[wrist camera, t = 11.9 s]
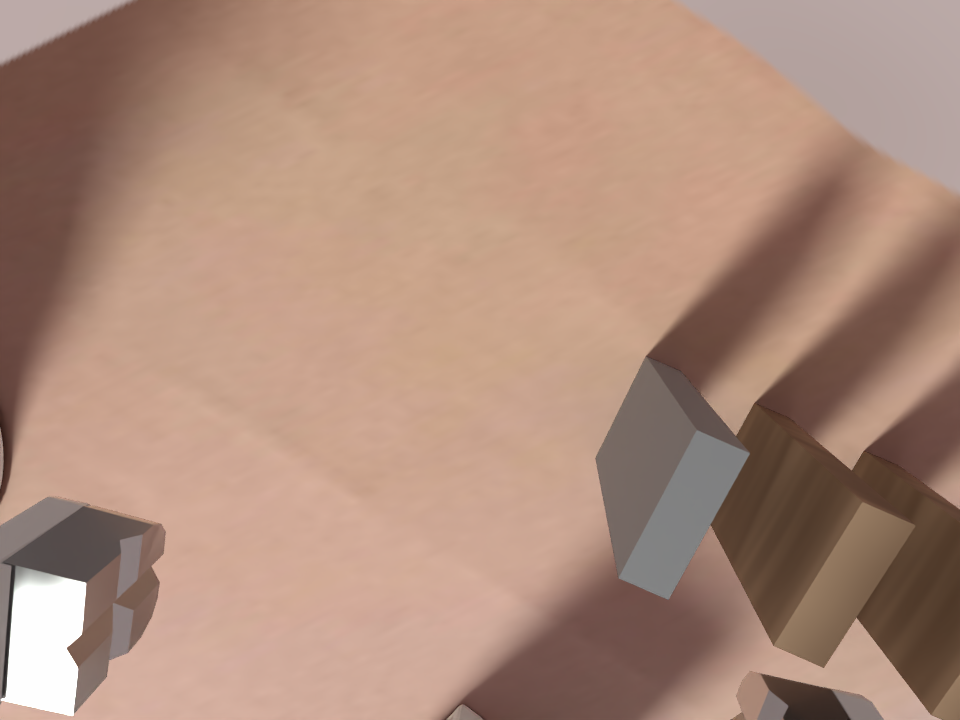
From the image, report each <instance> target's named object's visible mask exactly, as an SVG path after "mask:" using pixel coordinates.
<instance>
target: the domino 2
mask: <svg viewBox="0 0 960 720" xmlns="http://www.w3.org/2000/svg"><path fill="white" fill-rule="evenodd" d="M852 472H854V473H855V474H856V475H857V476H858V477H860V478H861V479H862V480H863V481H864V482H865V483H867V484H868V485H869V486H870V487H871V488H872V489H874V490H875V491H876V492H877V493H878V494H880V495H881V496H882V497H883V498H884V499H885V500H887V501H888V502H889V503H890V504H891V505H893V506H894V507H895V508H896V509H897V510H898V511H900V512H901V513H902V514H903V515H904V516H905V517H907V518H908V519H909V520H910V521H911V522H913V523H914V524H915V525H916V526H915V528H914V529H913V531H912V532H911V534H910V535H909V537H908V538H907V540H906V542H905V543H904V545H903V546H902V548H901V549H900V551H899V552H898V554H897V555H896V557H895V559H894V560H893V562H892V563H891V565H890V566H889V568H888V569H887V571H886V572H885V574H884V576H883V577H882V579H881V580H880V582H879V583H878V585H877V586H876V588H875V589H874V591H873V593H872V594H871V596H870V597H869V599H868V600H867V602H866V603H865V605H864V606H863V608H862V610H861V611H860V613H859V614H858V616H857V619H858V620H859V621H860V622H861V624H862V625H863V626H864V628H865V629H866V630H867V632H868V633H869V634H870V636H871V637H872V638H873V640H874V641H875V642H876V643H877V645H878V646H879V647H880V649H881V650H882V651H883V653H884V654H885V655H886V657H887V658H888V659H889V660H890V662H891V663H892V664H893V666H894V667H895V668H896V670H897V671H898V672H899V674H900V675H901V676H902V678H903V679H904V680H905V681H906V683H907V684H908V685H909V687H910V688H911V689H912V691H913V692H914V693H915V695H916V696H917V697H918V699H919V700H920V701H921V702H922V704H923V705H924V706H925V708H926V709H927V710H928V712H929V713H930V714H931V715H932V716H935V717H937V718H939V719H942V720H960V509H958V508H957V507H956V506H954V505H953V504H951V503H950V502H949V501H947V500H946V499H944V498H943V497H942V496H940V495H939V494H937V493H936V492H935V491H933V490H932V489H930V488H929V487H928V486H926V485H925V484H924V483H922V482H921V481H919V480H918V479H917V478H915V477H914V476H912V475H911V474H910V473H908V472H907V471H905V470H904V469H903V468H901V467H900V466H898V465H896V464H893V463H891V462H889V461H887V460H884V459H882V458H880V457H877V456H875V455H873V454H870V453H868V452H866V451H864V452H863V453H862V455H861V457H860V458H859V460H858V462H857V463H856V465H855V467H854V468H853V470H852Z"/></svg>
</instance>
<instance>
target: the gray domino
mask: <svg viewBox="0 0 960 720" xmlns="http://www.w3.org/2000/svg"><path fill="white" fill-rule="evenodd" d="M749 454H750V453H749V451H748V450H747V449H746V448H745V447H744V445H743V444H742V443H741V442H740V441H739V440H738V438H737V437H736V436H735V435H734V434H733V432H732V431H731V430H730V429H729V428H728V426H727V425H726V424H725V423H724V422H723V421H722V419H721V418H720V417H719V416H718V415H717V413H716V412H715V411H714V410H713V409H712V408H711V406H710V405H709V404H708V403H707V402H706V400H705V399H704V398H703V397H702V396H701V394H700V393H699V392H698V391H697V390H696V389H695V387H694V386H693V385H692V384H691V383H690V381H689V380H688V379H687V378H686V377H685V376H684V374H683V373H682V372H681V371H679V370H677V369H674V368H672V367H670V366H668V365H665V364H663V363H661V362H658V361H656V360H654V359H651V358H649V357H647V356H646V357H645V359H644V361H643V363H642V365H641V367H640V369H639V371H638V373H637V375H636V377H635V379H634V381H633V383H632V385H631V387H630V389H629V391H628V393H627V395H626V398H625V400H624V402H623V404H622V406H621V408H620V410H619V412H618V414H617V416H616V418H615V420H614V422H613V424H612V426H611V428H610V430H609V432H608V434H607V436H606V438H605V440H604V442H603V444H602V446H601V448H600V450H599V452H598V454H597V456H596V464H597V469H598V474H599V479H600V485H601V490H602V495H603V500H604V506H605V511H606V516H607V521H608V527H609V532H610V537H611V542H612V547H613V553H614V558H615V563H616V568H617V574H618V578H619V579H621V580H624V581H626V582H628V583H631V584H633V585H635V586H637V587H640V588H642V589H644V590H647V591H649V592H651V593H654V594H656V595H658V596H660V597H663V598H665V599H667V600H669V598H670V596H671V595H672V593H673V591H674V589H675V587H676V586H677V584H678V582H679V580H680V578H681V577H682V575H683V573H684V571H685V569H686V568H687V566H688V564H689V562H690V560H691V559H692V557H693V555H694V553H695V551H696V550H697V548H698V546H699V544H700V542H701V541H702V539H703V537H704V535H705V534H706V532H707V530H708V528H709V526H710V525H711V523H712V521H713V519H714V517H715V516H716V514H717V512H718V510H719V508H720V507H721V505H722V503H723V501H724V499H725V498H726V496H727V494H728V492H729V490H730V489H731V487H732V485H733V483H734V481H735V480H736V478H737V476H738V474H739V472H740V471H741V469H742V467H743V465H744V463H745V462H746V460H747V458H748V456H749Z"/></svg>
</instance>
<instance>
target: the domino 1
mask: <svg viewBox="0 0 960 720" xmlns="http://www.w3.org/2000/svg"><path fill="white" fill-rule="evenodd" d="M736 437H737V438H738V440H739V441H740V442H741V443H742V444H743V445H744V447H745V448H746V449H747V450H748V451H749V453H750V454H749V456H748V458H747V460H746V462H745V463H744V465H743V467H742V469H741V471H740V472H739V474H738V476H737V478H736V480H735V481H734V483H733V485H732V487H731V489H730V490H729V492H728V494H727V496H726V498H725V499H724V501H723V503H722V505H721V507H720V508H719V510H718V512H717V514H716V516H715V517H714V519H713V521H712V523H711V526H712V528H713V530H714V532H715V534H716V536H717V538H718V540H719V542H720V544H721V546H722V548H723V549H724V551H725V553H726V555H727V557H728V559H729V561H730V563H731V565H732V567H733V569H734V571H735V573H736V574H737V576H738V578H739V580H740V582H741V584H742V586H743V588H744V590H745V592H746V594H747V596H748V598H749V599H750V601H751V603H752V605H753V607H754V609H755V611H756V613H757V615H758V617H759V619H760V621H761V623H762V625H763V626H764V628H765V630H766V632H767V634H768V636H769V638H770V640H771V642H772V644H773V646H775V647H777V648H780V649H782V650H784V651H787V652H789V653H791V654H793V655H796V656H798V657H800V658H802V659H805V660H807V661H809V662H812V663H814V664H816V665H818V666H821V667H823V668H824V667H825V665H826V664H827V662H828V661H829V659H830V657H831V656H832V654H833V653H834V651H835V650H836V648H837V647H838V645H839V644H840V642H841V640H842V639H843V637H844V636H845V634H846V633H847V631H848V630H849V628H850V627H851V625H852V623H853V622H854V620H855V619H856V617H857V616H858V614H859V613H860V611H861V610H862V608H863V606H864V605H865V603H866V602H867V600H868V599H869V597H870V596H871V594H872V593H873V591H874V589H875V588H876V586H877V585H878V583H879V582H880V580H881V579H882V577H883V576H884V574H885V572H886V571H887V569H888V568H889V566H890V565H891V563H892V562H893V560H894V559H895V557H896V555H897V554H898V552H899V551H900V549H901V548H902V546H903V545H904V543H905V542H906V540H907V538H908V537H909V535H910V534H911V532H912V531H913V529H914V528H915V526H916V525H915V524H914V523H913V522H911V521H910V520H909V519H908V518H907V517H905V516H904V515H903V514H902V513H901V512H900V511H898V510H897V509H896V508H895V507H894V506H893V505H891V504H890V503H889V502H888V501H887V500H885V499H884V498H883V497H882V496H881V495H880V494H878V493H877V492H876V491H875V490H874V489H872V488H871V487H870V486H869V485H868V484H867V483H865V482H864V481H863V480H862V479H861V478H860V477H858V476H857V475H856V474H855V473H854V472H852V471H851V470H850V469H849V468H848V467H847V466H845V465H844V464H843V463H842V462H841V461H839V460H838V459H837V458H836V457H835V456H834V455H832V454H831V453H830V452H829V451H828V450H827V449H825V448H824V447H823V446H822V445H821V444H819V443H818V442H817V441H816V440H815V439H814V438H812V437H811V436H810V435H809V434H808V433H806V432H805V431H804V430H803V429H802V428H801V427H799V426H798V425H797V424H796V423H795V422H794V421H792V420H791V419H790V418H788V417H786V416H783V415H781V414H779V413H777V412H774V411H772V410H770V409H767V408H765V407H763V406H761V405H758V404H756V403H754V405H753V407H752V409H751V411H750V412H749V414H748V416H747V418H746V420H745V421H744V423H743V425H742V427H741V429H740V430H739V432H738V434H737V436H736Z"/></svg>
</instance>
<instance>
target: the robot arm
mask: <svg viewBox="0 0 960 720" xmlns="http://www.w3.org/2000/svg"><path fill="white" fill-rule="evenodd" d="M3 462H4V461H3V441H2V435H1V429H0V487H1V482H2V475H3ZM165 535H166V531H165V530H164V528H163V526H162V524H160V523H156V522H153V521H149V520H145V519H142V518H138V517H134V516H130V515H127V514H123V513H119V512H116V511H112V510H108V509H105V508H101V507H97V506H91V505H89V504H87V503H83V502H79V501H74V500H70V499H66V498H61V497H47V498H45V499H43V500H42V501H40V502H38V503H37V504H35V505H34V506H32V507H30V508H29V509H27V510H25V511H24V512H22V513H20V514H19V515H17V516H15V517H14V518H12V519H11V520H9V521H7V522H6V523H4V524H2V525H1V526H0V704H1V700H4V701H9V702H13V703H18V704H23V705H27V706H32V707H36V708H41V709H46V710H50V711H55V712H59V713H64V714H69V715H73V714H74V713H75V712H76V711H77V710H78V709H79V707H80V706H81V705H82V704H83V703H84V702H85V701H86V700H87V699H88V697H89V696H90V695H91V694H92V693H93V692H94V691H95V690H96V688H97V687H98V686H99V685H100V684H101V683H102V682H103V681H104V679H105V678H106V677H107V672H108V664H109V660H111V659H114V658H116V657H119V656H121V655H124V654H126V653H128V652H129V651H130V650H131V649H132V647H133V646H134V645H135V644H136V643H137V641H138V640H139V639H140V638H141V636H142V634H143V632H144V630H145V629H146V627H147V625H148V623H149V621H150V619H151V617H152V615H153V611H154V608H155V605H156V602H157V598H158V591H159V585H160V582H159V580H158V578H157V576H156V574H155V573H154V571H153V569H152V567H151V566H152V565H153V564H154V563H155V562H156V561H157V560H158V559H159V558H160V557H161V556H162V555H163V554H164V545H165ZM736 697H737V700H738V703H739V705H740V708H741V711H742V713H740V714H739V715H737V716H736V717H734V718H733V719H731V720H884V719H883V718H882V716H881V715H880V713H879V712H878V711H877V709H876V708H875V706H874V705H873V703H872V702H871V701H869V700H868V699H866V698H865V697H863V696H862V695H859V694H854V693H849V692H844V691H840V690H835V689H830V688H825V687H824V688H823V687H819V686H814V685H810V684H805V683H801V682H796V681H792V680H787V679H783V678H778V677H774V676H770V675H765V674H761V673H756V672H752V671H750V672H749V673H748V674H747V675H746V677H745V678H744V679H743V680H742V682H741V685H740V687H739V690H738V692H737V695H736Z"/></svg>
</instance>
